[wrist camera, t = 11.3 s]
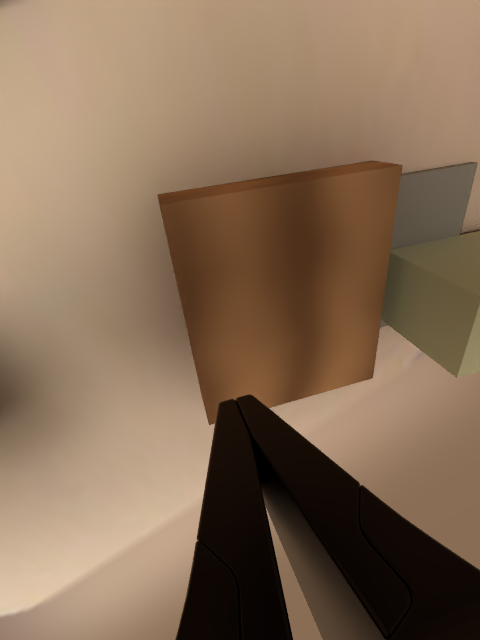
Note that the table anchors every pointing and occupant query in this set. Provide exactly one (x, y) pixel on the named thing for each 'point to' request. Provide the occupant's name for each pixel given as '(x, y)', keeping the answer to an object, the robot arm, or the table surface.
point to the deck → (283, 279)
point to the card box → (438, 300)
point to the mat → (431, 205)
